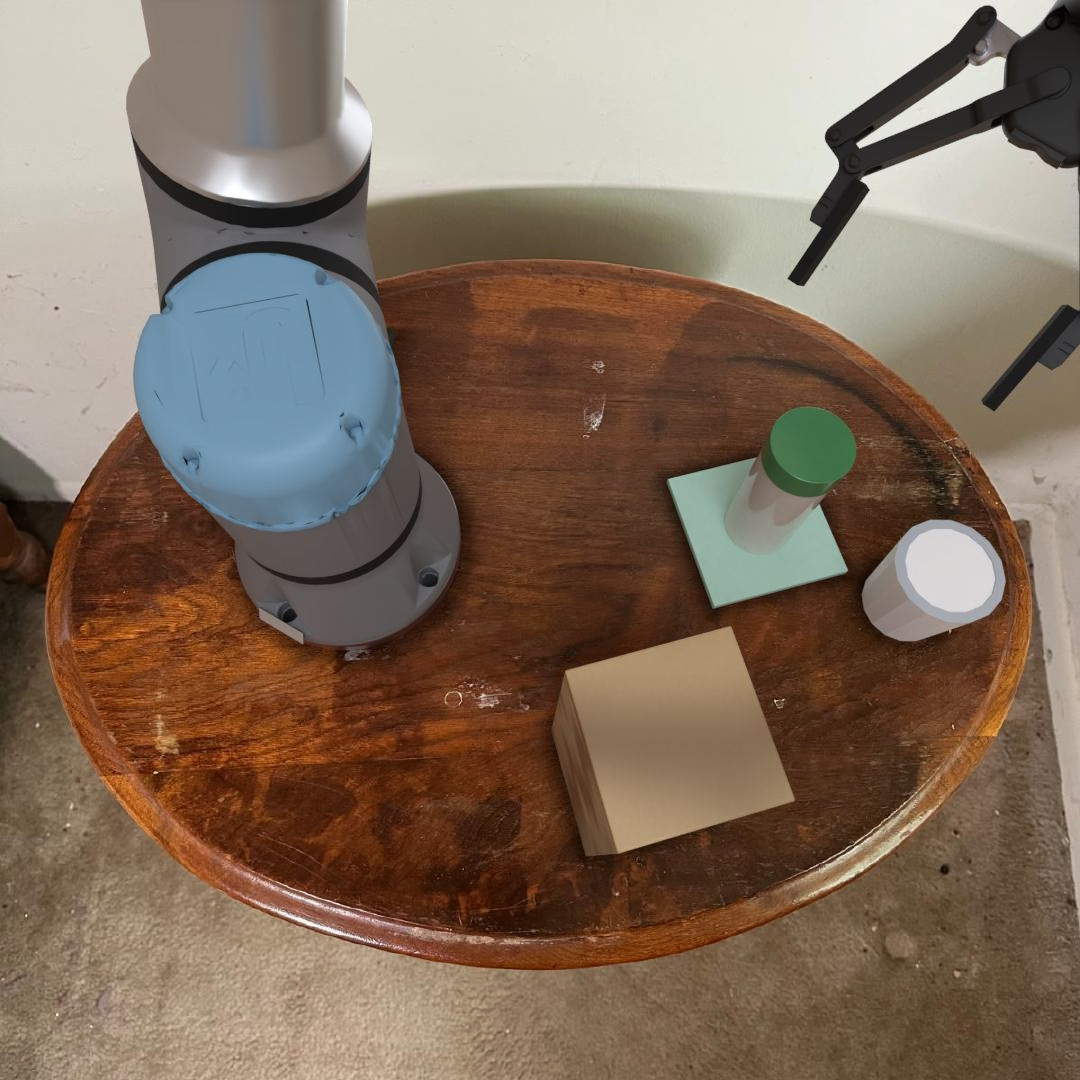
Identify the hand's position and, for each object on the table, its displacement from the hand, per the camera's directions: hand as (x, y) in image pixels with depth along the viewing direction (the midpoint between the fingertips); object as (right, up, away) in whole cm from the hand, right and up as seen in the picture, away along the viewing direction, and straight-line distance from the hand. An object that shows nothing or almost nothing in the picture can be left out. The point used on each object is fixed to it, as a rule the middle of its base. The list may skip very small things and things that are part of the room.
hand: (888, 343), depth 50 cm
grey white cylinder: (+4, -16, +7) cm, 18 cm away
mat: (-6, -11, +9) cm, 15 cm away
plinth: (-16, -27, +3) cm, 31 cm away
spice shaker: (-6, -11, +8) cm, 15 cm away
